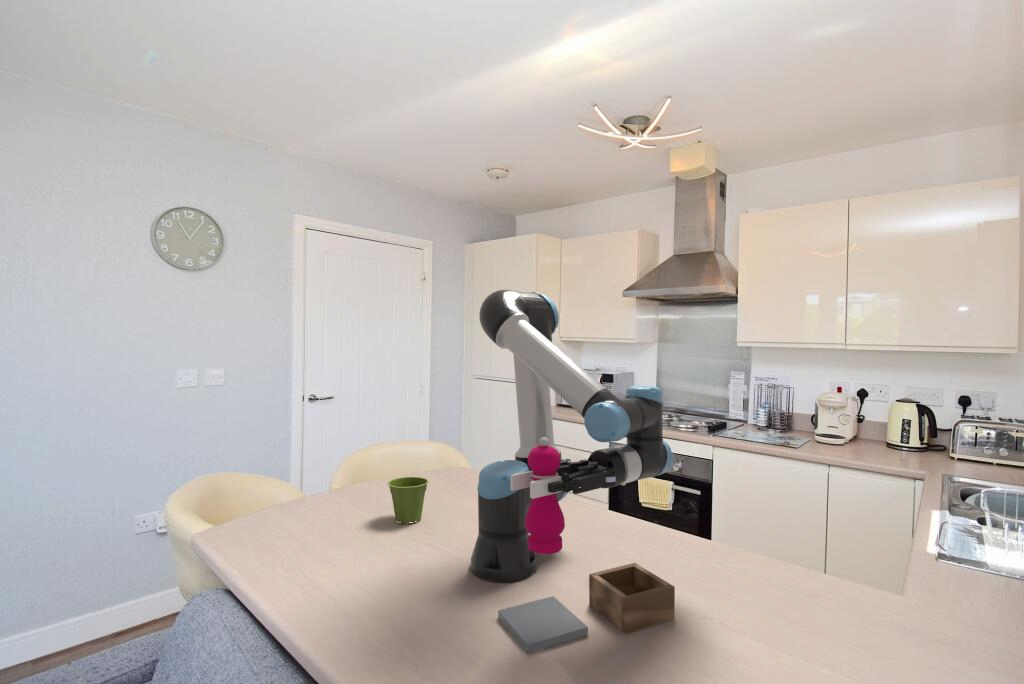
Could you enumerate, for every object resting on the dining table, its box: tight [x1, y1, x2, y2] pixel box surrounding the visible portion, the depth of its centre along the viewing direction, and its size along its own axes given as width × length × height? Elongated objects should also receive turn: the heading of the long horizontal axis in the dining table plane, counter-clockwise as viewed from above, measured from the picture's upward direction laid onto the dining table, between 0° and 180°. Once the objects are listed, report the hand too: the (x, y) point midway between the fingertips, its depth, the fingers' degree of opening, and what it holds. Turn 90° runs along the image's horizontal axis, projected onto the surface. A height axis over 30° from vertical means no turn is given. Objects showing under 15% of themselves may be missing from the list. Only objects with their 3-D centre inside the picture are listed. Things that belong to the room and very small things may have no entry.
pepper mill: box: [525, 437, 566, 555], centre depth 92 cm, size 7×7×20 cm
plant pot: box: [386, 476, 430, 524], centre depth 148 cm, size 12×12×11 cm
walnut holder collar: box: [588, 562, 676, 635], centre depth 98 cm, size 11×11×6 cm
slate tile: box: [497, 595, 589, 655], centre depth 93 cm, size 12×12×2 cm
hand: (521, 486), depth 89 cm, fingers closed on pepper mill, 5 cm apart
